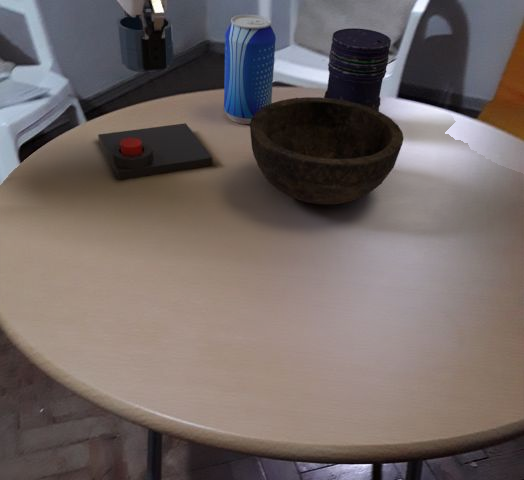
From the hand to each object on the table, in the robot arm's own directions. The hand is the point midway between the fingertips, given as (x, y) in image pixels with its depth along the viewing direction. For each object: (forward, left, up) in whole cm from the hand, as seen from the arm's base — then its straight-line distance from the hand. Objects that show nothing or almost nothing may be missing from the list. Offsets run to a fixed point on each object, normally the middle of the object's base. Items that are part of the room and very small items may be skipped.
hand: (146, 57), depth 88 cm
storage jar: (+37, +3, -16) cm, 40 cm away
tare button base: (+1, +3, -16) cm, 16 cm away
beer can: (+21, +12, -16) cm, 29 cm away
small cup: (0, 0, -1) cm, 1 cm away
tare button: (-4, -1, -13) cm, 14 cm away
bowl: (+21, -16, -16) cm, 31 cm away
